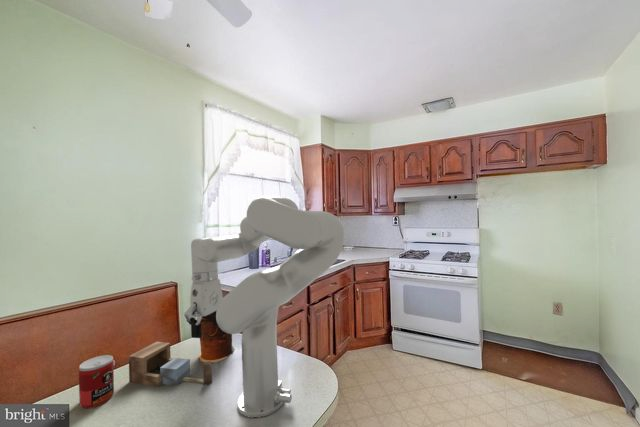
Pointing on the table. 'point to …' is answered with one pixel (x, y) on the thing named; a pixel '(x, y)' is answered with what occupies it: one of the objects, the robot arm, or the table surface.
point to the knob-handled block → (183, 372)
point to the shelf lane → (149, 363)
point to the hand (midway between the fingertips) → (207, 330)
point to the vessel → (214, 341)
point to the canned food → (96, 381)
